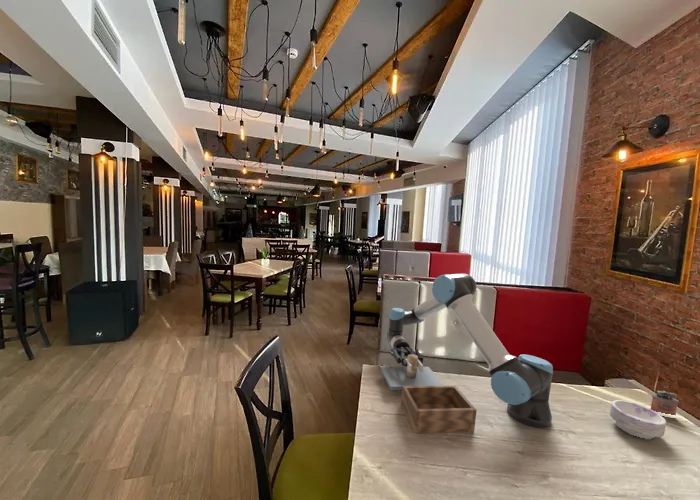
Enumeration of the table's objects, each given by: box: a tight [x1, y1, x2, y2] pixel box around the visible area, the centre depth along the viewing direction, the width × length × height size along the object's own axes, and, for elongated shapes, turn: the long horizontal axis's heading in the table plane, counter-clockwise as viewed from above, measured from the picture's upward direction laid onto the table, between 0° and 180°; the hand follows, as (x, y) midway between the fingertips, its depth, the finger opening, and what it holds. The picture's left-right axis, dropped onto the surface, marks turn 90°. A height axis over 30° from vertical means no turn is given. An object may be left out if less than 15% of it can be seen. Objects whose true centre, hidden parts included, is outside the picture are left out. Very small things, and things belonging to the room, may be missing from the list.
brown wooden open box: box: [400, 385, 477, 434], centre depth 117 cm, size 22×16×8 cm
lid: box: [380, 354, 445, 391], centre depth 137 cm, size 23×17×10 cm
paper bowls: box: [609, 399, 667, 440], centre depth 117 cm, size 15×15×8 cm
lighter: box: [650, 390, 679, 416], centre depth 128 cm, size 8×3×10 cm, turn 68°
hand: (416, 368), depth 132 cm, fingers closed on lid, 4 cm apart
